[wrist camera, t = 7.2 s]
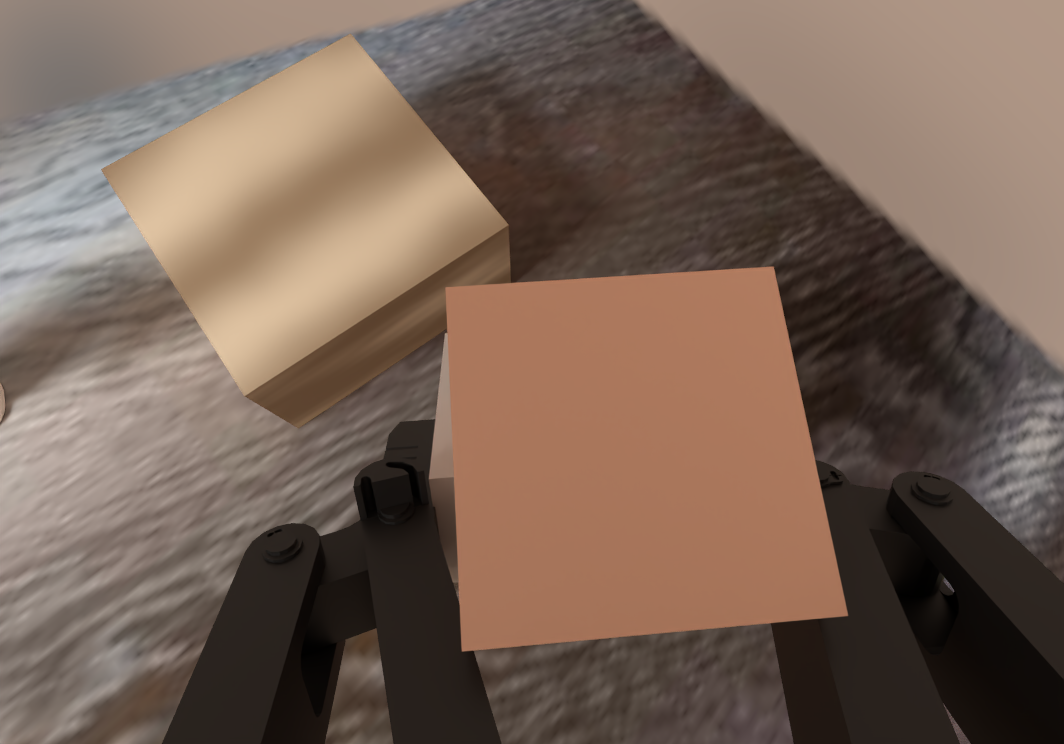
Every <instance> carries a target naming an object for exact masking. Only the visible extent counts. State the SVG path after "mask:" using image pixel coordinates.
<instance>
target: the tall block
mask: <svg viewBox="0 0 1064 744" xmlns="http://www.w3.org/2000/svg"><path fill="white" fill-rule="evenodd" d="M445 290H446V312H447V334H448V356H449V379H450V401H451V423H452V445H453V467H454V490H455V512H456V534H457V556H458V579H459V601H460V623H461V645H462V651H473V650H484V649H495V648H505V647H516V646H527V645H538V644H549V643H560V642H570V641H581V640H592V639H603V638H614V637H625V636H635V635H646V634H657V633H668V632H679V631H690V630H700V629H711V628H722V627H733V626H744V625H755V624H765V623H776V622H787V621H798V620H809V619H820V618H830V617H841V616H848V612H847V608H846V603H845V598H844V594H843V589H842V584H841V580H840V575H839V570H838V566H837V561H836V556H835V552H834V547H833V542H832V538H831V533H830V528H829V524H828V519H827V514H826V509H825V505H824V500H823V495H822V491H821V486H820V481H819V477H818V472H817V467H816V463H815V458H814V453H813V449H812V444H811V439H810V435H809V430H808V425H807V421H806V416H805V411H804V407H803V402H802V397H801V392H800V388H799V383H798V378H797V374H796V369H795V364H794V360H793V355H792V350H791V346H790V341H789V336H788V332H787V327H786V322H785V318H784V313H783V308H782V304H781V299H780V294H779V290H778V285H777V280H776V276H775V271H774V267H759V268H743V269H727V270H711V271H695V272H680V273H664V274H648V275H632V276H616V277H600V278H584V279H568V280H553V281H537V282H521V283H505V284H489V285H473V286H457V287H445Z"/></svg>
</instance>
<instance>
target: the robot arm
mask: <svg viewBox="0 0 1064 744" xmlns="http://www.w3.org/2000/svg"><path fill="white" fill-rule="evenodd" d="M815 463H816V467H817V472H818V477H819V481H820V486H821V491H822V495H823V500H824V505H825V509H826V514H827V519H828V524H829V528H830V533H831V538H832V542H833V547H834V552H835V556H836V561H837V566H838V570H839V575H840V580H841V584H842V589H843V594H844V598H845V603H846V608H847V612H848V616H841V617H830V618H820V619H809V620H798V621H787V622H776V623H771V626H772V631H773V637H774V642H775V647H776V652H777V658H778V663H779V668H780V673H781V679H782V684H783V689H784V694H785V700H786V705H787V710H788V715H789V721H790V726H791V731H792V736H793V742H794V744H960V743H959V740H958V738H957V735H956V733H955V731H954V728H953V726H952V724H951V721H950V719H949V717H948V714H947V712H946V710H945V707H944V705H945V706H946V708H947V709H948V711H949V712H950V714H951V715H952V717H953V718H954V719H955V721H956V722H957V724H958V725H959V727H960V728H961V730H962V731H963V733H964V734H965V736H966V737H967V738H968V740H969V741H970V743H971V744H1064V584H1063V583H1062V582H1061V581H1060V580H1059V579H1058V578H1057V577H1056V576H1055V575H1054V574H1053V573H1052V572H1051V571H1049V570H1048V569H1047V568H1046V567H1045V566H1044V565H1043V564H1042V563H1041V562H1040V561H1039V560H1038V559H1037V558H1036V557H1035V556H1034V555H1033V554H1031V553H1030V552H1029V551H1028V550H1027V549H1026V548H1025V547H1024V546H1023V545H1022V544H1021V543H1020V542H1019V541H1018V540H1017V539H1016V538H1015V537H1014V536H1012V535H1011V534H1010V533H1009V532H1008V531H1007V530H1006V529H1005V528H1004V527H1003V526H1002V525H1001V524H1000V523H999V522H998V521H997V520H996V519H994V518H993V517H992V516H991V515H990V514H989V513H988V512H987V511H986V510H985V509H984V508H983V507H982V506H981V505H980V504H979V503H978V502H976V501H975V500H974V499H973V498H972V497H971V496H970V495H969V494H968V493H967V492H966V491H965V490H964V489H962V488H961V487H959V486H958V485H957V484H955V483H954V482H952V481H950V480H947V479H945V478H943V477H941V476H938V475H934V474H931V473H925V472H907V473H902V474H899V475H898V476H897V477H896V478H894V479H893V483H892V486H891V489H890V490H885V489H877V488H870V487H862V486H856V485H851V484H850V483H849V481H848V479H847V478H846V477H845V475H844V474H843V473H842V472H841V471H839V470H838V469H836V468H835V467H833V466H831V465H829V464H826V463H824V462H821V461H817V460H815ZM353 487H354V492H355V496H356V501H357V505H358V510H359V514H360V519H361V520H359V521H358V522H356V523H355V524H353V525H351V526H349V527H347V528H344V529H342V530H339V531H336V532H333V533H330V534H327V535H323V536H319V534H318V533H317V531H316V530H315V529H314V528H313V527H311V526H308V525H306V524H296V523H291V524H286V525H281V526H277V527H275V528H273V529H271V530H268V531H266V532H264V533H263V534H261V535H260V536H259V537H258V538H256V539H255V540H254V541H253V542H252V543H251V544H250V546H249V547H248V549H247V550H246V552H245V554H244V556H243V559H242V561H241V563H240V565H239V568H238V570H237V572H236V575H235V577H234V579H233V582H232V584H231V586H230V588H229V591H228V593H227V595H226V598H225V600H224V602H223V605H222V607H221V609H220V611H219V614H218V616H217V618H216V621H215V623H214V625H213V628H212V630H211V632H210V634H209V637H208V639H207V641H206V644H205V646H204V648H203V651H202V653H201V655H200V658H199V660H198V662H197V664H196V667H195V669H194V671H193V674H192V676H191V678H190V681H189V683H188V685H187V687H186V690H185V692H184V694H183V697H182V699H181V701H180V704H179V706H178V708H177V710H176V713H175V715H174V717H173V720H172V722H171V724H170V727H169V729H168V731H167V733H166V736H165V738H164V740H163V743H162V744H325V739H326V734H327V729H328V724H329V719H330V715H331V710H332V705H333V700H334V695H335V690H336V685H337V680H338V675H339V670H340V665H341V660H342V655H343V651H344V646H345V639H348V638H351V637H353V636H356V635H359V634H361V633H364V632H367V631H369V630H372V629H375V628H377V634H378V640H379V647H380V654H381V661H382V668H383V675H384V681H385V688H386V695H387V702H388V709H389V715H390V722H391V729H392V736H393V743H394V744H501V740H500V737H499V734H498V730H497V727H496V724H495V720H494V717H493V714H492V711H491V707H490V704H489V701H488V697H487V694H486V691H485V687H484V684H483V681H482V677H481V674H480V671H479V667H478V664H477V661H476V658H475V654H474V651H462V645H461V623H460V605H459V601H458V598H457V595H456V591H455V588H454V585H453V583H454V582H459V579H458V556H457V534H456V512H455V490H454V467H453V445H452V423H451V401H450V379H449V356H448V334H447V333H445V338H444V347H443V356H442V365H441V374H440V383H439V392H438V401H437V410H436V419H433V420H420V421H406V422H400V423H399V424H398V425H397V426H396V427H395V429H394V430H393V431H392V432H391V433H390V434H389V437H388V442H387V446H386V451H385V455H384V459H383V460H380V461H377V462H374V463H372V464H370V465H369V466H367V467H365V468H364V469H362V470H361V471H360V473H359V474H358V475H357V476H356V478H355V481H354V486H353ZM944 577H945V578H946V580H947V581H948V582H949V583H950V584H951V586H952V588H953V589H954V591H955V592H954V593H953V592H952V591H951V590H950V589H949V588H948V587H947V585H946V584H945V583H944V582H943V580H944ZM943 703H944V705H943Z"/></svg>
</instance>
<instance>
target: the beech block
mask: <svg viewBox="0 0 1064 744" xmlns="http://www.w3.org/2000/svg"><path fill="white" fill-rule="evenodd" d="M101 170H102V172H103V173H104V175H105V177H106V178H107V180H108V181H109V183H110V185H111V186H112V188H113V189H114V191H115V192H116V194H117V196H118V197H119V199H120V200H121V202H122V203H123V205H124V207H125V208H126V210H127V211H128V213H129V215H130V216H131V218H132V219H133V221H134V222H135V224H136V226H137V227H138V229H139V230H140V232H141V233H142V235H143V237H144V238H145V240H146V241H147V243H148V245H149V246H150V248H151V249H152V251H153V252H154V254H155V256H156V257H157V259H158V260H159V262H160V263H161V265H162V267H163V268H164V270H165V271H166V273H167V274H168V276H169V278H170V279H171V281H172V282H173V284H174V286H175V287H176V289H177V290H178V292H179V293H180V295H181V297H182V298H183V300H184V301H185V303H186V304H187V306H188V308H189V309H190V311H191V312H192V314H193V316H194V317H195V319H196V320H197V322H198V323H199V325H200V327H201V328H202V330H203V331H204V333H205V334H206V336H207V338H208V339H209V341H210V342H211V344H212V346H213V347H214V349H215V350H216V352H217V353H218V355H219V357H220V358H221V360H222V361H223V363H224V364H225V366H226V368H227V369H228V371H229V372H230V374H231V375H232V377H233V379H234V380H235V382H236V383H237V385H238V387H239V388H240V390H241V391H242V393H243V394H244V396H245V397H247V398H249V399H250V400H252V401H254V402H255V403H257V404H259V405H260V406H262V407H264V408H265V409H267V410H269V411H270V412H272V413H274V414H275V415H277V416H279V417H280V418H282V419H284V420H285V421H287V422H289V423H290V424H292V425H294V426H295V427H297V428H300V427H301V426H303V425H304V424H306V423H307V422H309V421H310V420H312V419H313V418H315V417H316V416H318V415H319V414H321V413H322V412H324V411H325V410H327V409H328V408H330V407H331V406H333V405H334V404H336V403H337V402H339V401H340V400H342V399H343V398H344V397H346V396H347V395H349V394H350V393H352V392H353V391H355V390H356V389H358V388H359V387H361V386H362V385H364V384H365V383H367V382H368V381H370V380H371V379H373V378H374V377H376V376H377V375H379V374H380V373H382V372H383V371H385V370H386V369H388V368H389V367H391V366H392V365H394V364H395V363H397V362H398V361H400V360H401V359H403V358H404V357H406V356H407V355H409V354H410V353H411V352H413V351H414V350H416V349H417V348H419V347H420V346H422V345H423V344H425V343H426V342H428V341H429V340H431V339H432V338H434V337H435V336H437V335H438V334H440V333H441V332H443V331H444V330H446V329H447V312H446V290H445V287H457V286H473V285H489V284H505V283H511V270H510V246H509V225H508V224H507V222H506V221H505V220H504V219H503V218H502V216H501V215H500V214H499V213H498V211H497V210H496V209H495V208H494V207H493V205H492V204H491V203H490V202H489V201H488V199H487V198H486V197H485V196H484V195H483V193H482V192H481V191H480V190H479V188H478V187H477V186H476V185H475V184H474V182H473V181H472V180H471V179H470V178H469V176H468V175H467V174H466V173H465V172H464V170H463V169H462V168H461V167H460V165H459V164H458V163H457V162H456V161H455V159H454V158H453V157H452V156H451V155H450V153H449V152H448V151H447V150H446V149H445V147H444V146H443V145H442V144H441V142H440V141H439V140H438V139H437V138H436V136H435V135H434V134H433V133H432V132H431V130H430V129H429V128H428V127H427V125H426V124H425V123H424V122H423V121H422V119H421V118H420V117H419V116H418V115H417V113H416V112H415V111H414V110H413V109H412V107H411V106H410V105H409V104H408V102H407V101H406V100H405V99H404V98H403V96H402V95H401V94H400V93H399V92H398V90H397V89H396V88H395V87H394V86H393V84H392V83H391V82H390V81H389V79H388V78H387V77H386V76H385V75H384V73H383V72H382V71H381V70H380V69H379V67H378V66H377V65H376V64H375V63H374V61H373V60H372V59H371V58H370V56H369V55H368V54H367V53H366V52H365V50H364V49H363V48H362V47H361V46H360V44H359V43H358V42H357V41H356V39H355V38H354V37H353V36H352V35H351V34H349V35H347V36H345V37H343V38H342V39H340V40H338V41H336V42H334V43H332V44H331V45H329V46H327V47H325V48H323V49H321V50H320V51H318V52H316V53H314V54H312V55H310V56H309V57H307V58H305V59H303V60H301V61H299V62H297V63H296V64H294V65H292V66H290V67H288V68H286V69H285V70H283V71H281V72H279V73H277V74H275V75H274V76H272V77H270V78H268V79H266V80H264V81H263V82H261V83H259V84H257V85H255V86H253V87H252V88H250V89H248V90H246V91H244V92H242V93H241V94H239V95H237V96H235V97H233V98H231V99H229V100H228V101H226V102H224V103H222V104H220V105H218V106H217V107H215V108H213V109H211V110H209V111H207V112H206V113H204V114H202V115H200V116H198V117H196V118H195V119H193V120H191V121H189V122H187V123H185V124H184V125H182V126H180V127H178V128H176V129H174V130H173V131H171V132H169V133H167V134H165V135H163V136H162V137H160V138H158V139H156V140H154V141H152V142H150V143H149V144H147V145H145V146H143V147H141V148H139V149H138V150H136V151H134V152H132V153H130V154H128V155H127V156H125V157H123V158H121V159H119V160H117V161H116V162H114V163H112V164H110V165H108V166H106V167H105V168H103V169H101Z"/></svg>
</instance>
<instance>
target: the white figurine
mask: <svg viewBox="0 0 1064 744" xmlns="http://www.w3.org/2000/svg"><path fill="white" fill-rule="evenodd" d="M4 412H5V396H4V389H3V387H2V385H1V383H0V422H1V420H2V418H3V415H4Z"/></svg>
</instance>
